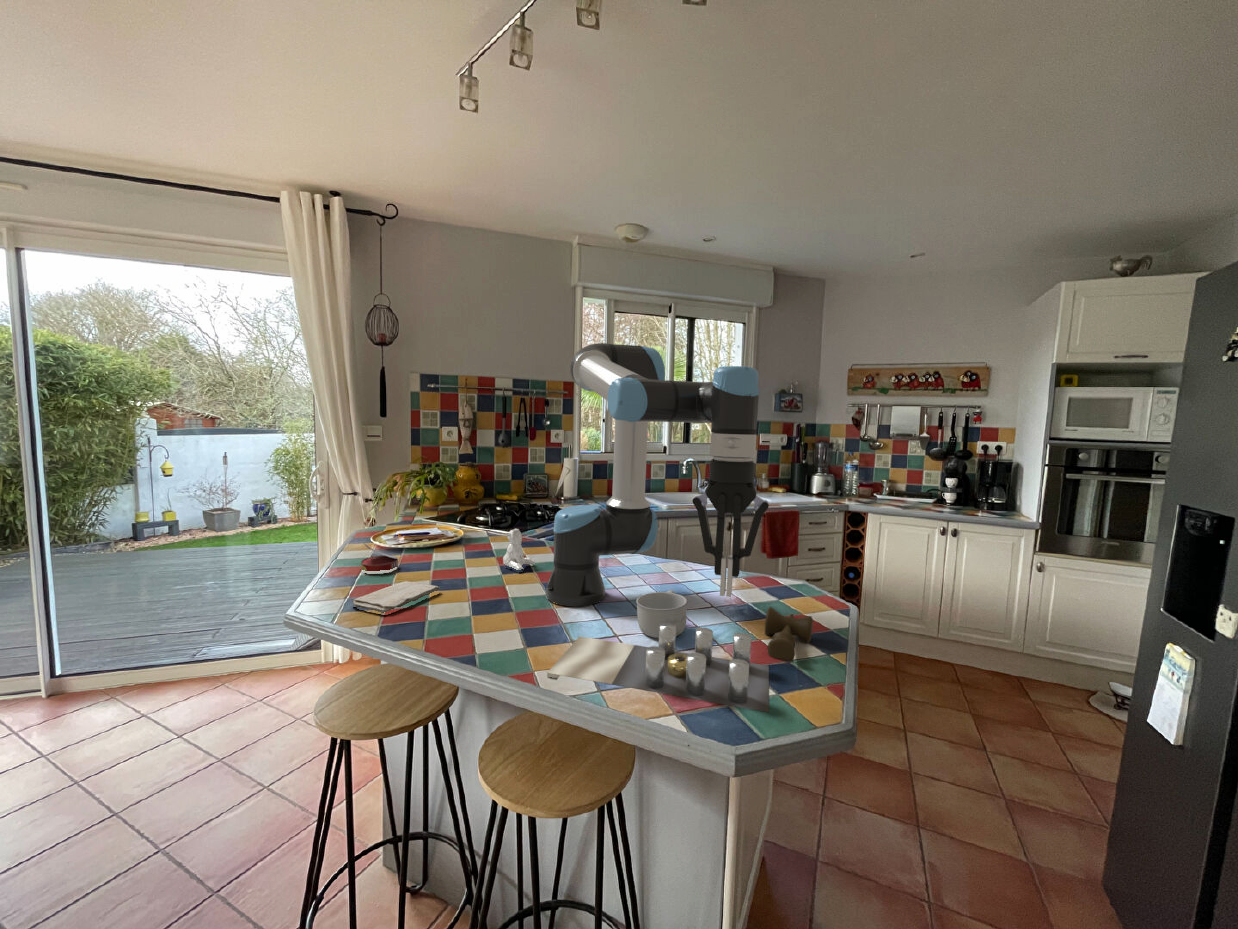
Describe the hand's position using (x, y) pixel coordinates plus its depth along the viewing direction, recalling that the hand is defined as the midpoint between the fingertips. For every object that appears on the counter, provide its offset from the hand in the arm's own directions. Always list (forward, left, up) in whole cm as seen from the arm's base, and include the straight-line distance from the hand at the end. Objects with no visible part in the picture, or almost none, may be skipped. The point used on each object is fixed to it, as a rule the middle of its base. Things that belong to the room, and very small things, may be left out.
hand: (725, 593), depth 89 cm
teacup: (-14, +18, -17) cm, 28 cm away
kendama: (+12, +21, -17) cm, 29 cm away
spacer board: (-11, 0, -16) cm, 20 cm away
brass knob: (-8, 0, -16) cm, 17 cm away
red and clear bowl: (-102, +33, -17) cm, 109 cm away
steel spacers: (-4, 0, -16) cm, 16 cm away
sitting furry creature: (-66, +49, -17) cm, 84 cm away
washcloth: (-80, +14, -17) cm, 83 cm away
